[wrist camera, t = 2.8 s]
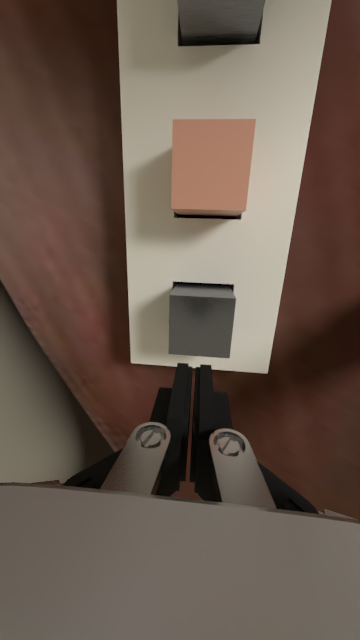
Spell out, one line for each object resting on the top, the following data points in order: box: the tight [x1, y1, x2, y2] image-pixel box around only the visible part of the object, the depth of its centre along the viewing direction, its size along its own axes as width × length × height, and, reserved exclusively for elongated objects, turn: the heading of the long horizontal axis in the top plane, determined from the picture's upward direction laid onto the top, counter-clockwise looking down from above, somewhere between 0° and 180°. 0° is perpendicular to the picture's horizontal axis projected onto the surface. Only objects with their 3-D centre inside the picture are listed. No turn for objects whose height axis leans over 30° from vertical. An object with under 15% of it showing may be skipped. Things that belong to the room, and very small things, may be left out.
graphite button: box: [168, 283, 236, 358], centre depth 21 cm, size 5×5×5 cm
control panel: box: [117, 0, 332, 374], centre depth 21 cm, size 14×34×4 cm, turn 178°
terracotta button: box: [171, 119, 256, 216], centre depth 18 cm, size 5×5×5 cm
